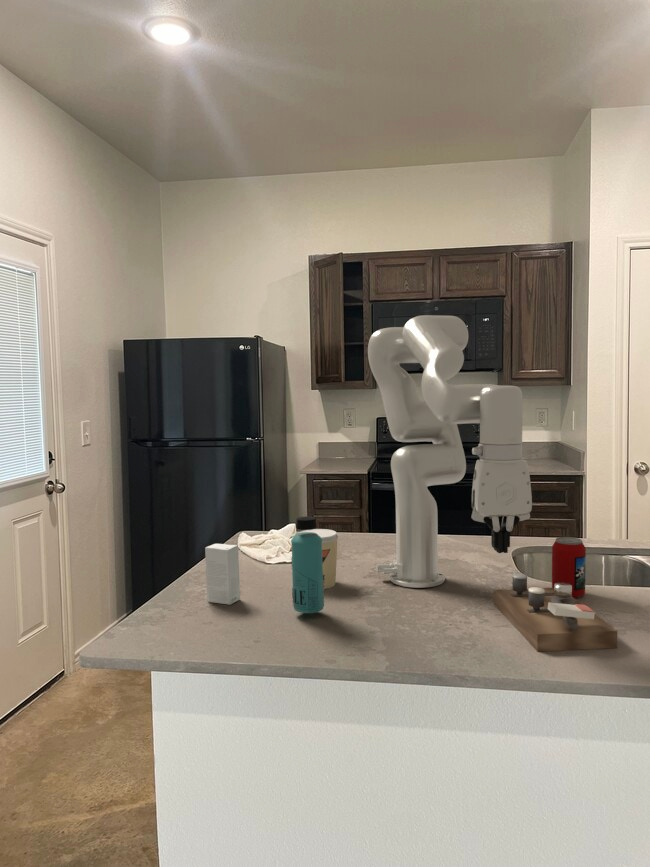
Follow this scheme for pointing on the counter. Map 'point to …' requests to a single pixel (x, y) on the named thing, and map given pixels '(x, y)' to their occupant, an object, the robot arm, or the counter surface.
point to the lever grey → (519, 583)
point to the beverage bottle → (307, 568)
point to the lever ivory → (536, 597)
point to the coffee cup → (328, 555)
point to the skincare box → (222, 573)
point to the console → (553, 623)
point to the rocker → (571, 610)
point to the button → (563, 590)
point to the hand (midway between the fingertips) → (500, 551)
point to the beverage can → (569, 564)
